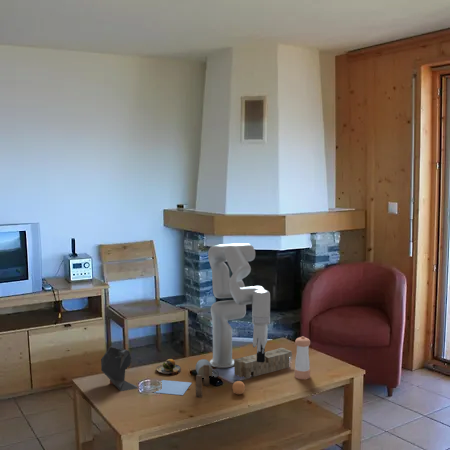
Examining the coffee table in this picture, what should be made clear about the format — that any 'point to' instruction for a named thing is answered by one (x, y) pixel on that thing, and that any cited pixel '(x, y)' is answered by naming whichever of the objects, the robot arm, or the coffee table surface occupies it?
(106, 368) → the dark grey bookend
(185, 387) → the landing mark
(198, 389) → the post
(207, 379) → the post
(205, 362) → the ceramic mug
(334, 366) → the coffee table surface
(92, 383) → the coffee table surface
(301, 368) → the salt shaker
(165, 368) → the fruit plate
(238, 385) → the ball
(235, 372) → the block tower
